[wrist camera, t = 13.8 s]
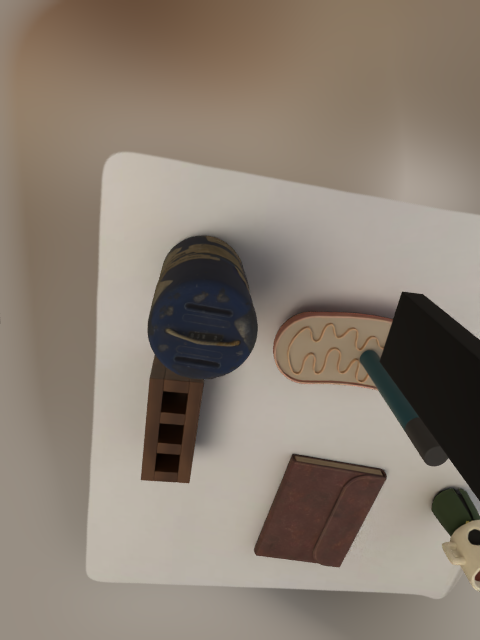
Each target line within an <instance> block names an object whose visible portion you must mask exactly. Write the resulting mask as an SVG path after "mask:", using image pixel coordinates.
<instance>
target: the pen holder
mask: <svg viewBox="0 0 480 640" xmlns="http://www.w3.org/2000/svg"><path fill="white" fill-rule="evenodd" d="M203 386H204V379H191V378H187V377H183V376H180V375H177V374H175V373H174V372H172V371H171V370H169V369H168V368H166V367H165V366H164V365H163V364H162V363H161V362H160V361H159V359H158V358H157V357H156V355H155V356H154V361H153V366H152V370H151V375H150V381H149V393H148V404H147V416H146V427H145V439H144V450H143V462H142V473H141V480H148V481H163V482H179V483H189V482H190V475H191V468H192V461H193V454H194V447H195V441H196V434H197V427H198V420H199V413H200V406H201V399H202V392H203Z"/></svg>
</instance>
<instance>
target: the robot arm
mask: <svg viewBox="0 0 480 640" xmlns="http://www.w3.org/2000/svg"><path fill="white" fill-rule="evenodd" d="M379 362H380V363H381V365H382V366H383V367H384V369H385V370H386V371H387V373H388V374H389V376H390V377H391V378H392V380H393V381H394V383H395V384H396V385H397V387H398V388H399V390H400V391H401V392H402V394H403V395H404V396H405V398H406V399H407V401H408V402H409V403H410V405H411V406H412V408H413V409H414V410H415V412H416V413H417V415H418V416H419V417H420V419H421V420H422V421H423V423H424V424H425V426H426V427H427V428H428V430H429V431H430V433H431V434H432V435H433V437H434V438H435V440H436V441H437V442H438V444H439V445H440V446H441V448H442V449H443V451H444V452H445V453H446V455H447V456H448V458H449V459H450V460H451V462H452V463H453V465H454V466H455V467H456V469H457V470H458V471H459V473H460V474H461V476H462V477H463V478H464V480H465V481H466V483H467V484H468V485H469V487H470V488H471V490H472V491H473V492H474V494H475V495H476V496H477V498H478V499H479V501H480V340H479V339H478V338H477V337H475V336H474V335H473V334H472V333H470V332H469V331H468V330H467V329H465V328H464V327H463V326H462V325H460V324H459V323H458V322H457V321H455V320H454V319H453V318H452V317H451V316H449V315H448V314H447V313H446V312H444V311H443V310H442V309H441V308H439V307H438V306H437V305H436V304H434V303H433V302H432V301H431V300H429V299H428V298H427V297H426V296H424V295H423V294H417V293H409V292H402V294H401V297H400V300H399V303H398V306H397V309H396V312H395V315H394V318H393V321H392V324H391V327H390V330H389V333H388V337H387V340H386V343H385V346H384V349H383V352H382V355H381V358H380V361H379Z"/></svg>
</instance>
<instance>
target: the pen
mask: <svg viewBox="0 0 480 640" xmlns="http://www.w3.org/2000/svg"><path fill="white" fill-rule="evenodd" d="M379 361H380V357H379V355H378V354H377V353H376V352H375V351H373V350H367V351H365V352H363V353H362V355H361V356H360V362H361V364H362V366H363V367H364V369H365V370H366V372H367V373H368V375H369V376H370V378H371V380H372V381H373V383H374V384H375V386H376V387H377V389H378V390H379V392H380V394H381V395H382V397H383V398H384V400H385V401H386V403H387V404H388V406H389V407H390V409H391V411H392V412H393V414H394V415H395V417H396V418H397V420H398V421H399V423H400V425H401V426H402V428H403V429H404V431H405V432H406V434H407V435H408V437H409V438H410V440H411V442H412V443H413V445H414V446H415V448H416V449H417V451H418V452H419V454H420V456H421V457H422V459H423V460H424V462H425V463H426V464H427V465H429V466H439V465H441V464H443V463H444V462H446V460H447V459H448V456H447V455H446V453H445V452H444V451H443V449H442V448H441V446H440V445H439V444H438V442H437V441H436V440H435V438H434V437H433V435H432V434H431V433H430V431H429V430H428V428H427V427H426V426H425V424H424V423H423V421H422V420H421V419H420V417H419V416H418V415H417V413H416V412H415V410H414V409H413V408H412V406H411V405H410V403H409V402H408V401H407V399H406V398H405V396H404V395H403V394H402V392H401V391H400V390H399V388H398V387H397V385H396V384H395V383H394V381H393V380H392V378H391V377H390V376H389V374H388V373H387V371H386V370H385V369H384V367H383V366H382V365H381V363H380V362H379Z"/></svg>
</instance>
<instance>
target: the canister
mask: <svg viewBox="0 0 480 640" xmlns="http://www.w3.org/2000/svg"><path fill="white" fill-rule="evenodd" d="M257 331H258V324H257V317H256V313H255V309H254V307H253V303H252V299H251V296H250V291H249V286H248V282H247V278H246V275H245V272H244V270H243V266H242V263H241V260H240V258H239V257H238V255H237V254H236V252H235V251H234V250H233V248H232V247H231V246H229V245H228V244H227V243H225V242H224V241H222V240H220V239H218V238H215V237H211V236H195V237H190V238H187V239H185V240H183V241H181V242H180V243H178V244H177V245H176V246H174V247H173V248H172V249H171V251H170V252H169V253H168V255H167V256H166V258H165V261H164V263H163V266H162V270H161V274H160V277H159V281H158V283H157V286H156V290H155V294H154V298H153V301H152V306H151V310H150V315H149V319H148V338H149V342H150V345H151V348H152V350H153V352H154V354H155V355H156V357H157V358H158V359H159V361H160V362H161V363H162V364H163V365H164V366H165V367H166V368H168V369H169V370H171V371H172V372H174V373H175V374H177V375H180V376H183V377H187V378H191V379H213V378H216V377H220V376H223V375H226V374H228V373H230V372H232V371H233V370H235V369H236V368H238V367H239V366H240V365H241V364H242V363H243V362H244V361H245V360H246V359H247V358H248V356H249V355H250V353H251V351H252V350H253V348H254V345H255V342H256V338H257Z"/></svg>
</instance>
